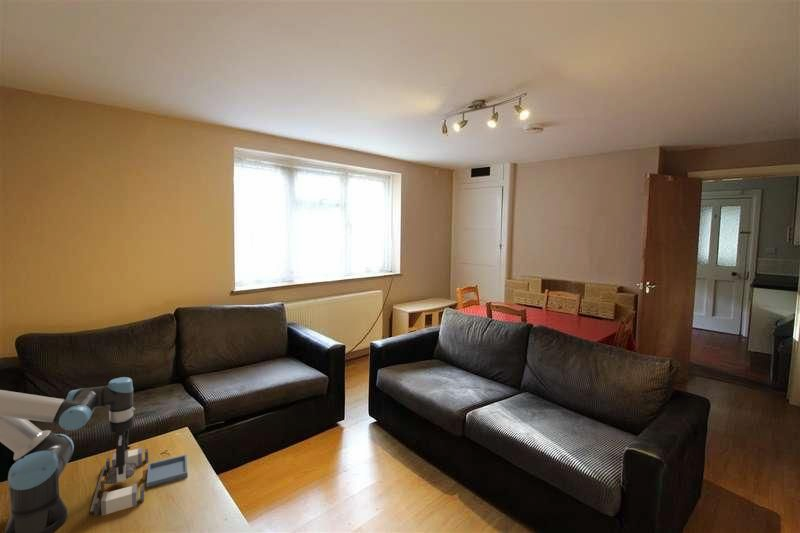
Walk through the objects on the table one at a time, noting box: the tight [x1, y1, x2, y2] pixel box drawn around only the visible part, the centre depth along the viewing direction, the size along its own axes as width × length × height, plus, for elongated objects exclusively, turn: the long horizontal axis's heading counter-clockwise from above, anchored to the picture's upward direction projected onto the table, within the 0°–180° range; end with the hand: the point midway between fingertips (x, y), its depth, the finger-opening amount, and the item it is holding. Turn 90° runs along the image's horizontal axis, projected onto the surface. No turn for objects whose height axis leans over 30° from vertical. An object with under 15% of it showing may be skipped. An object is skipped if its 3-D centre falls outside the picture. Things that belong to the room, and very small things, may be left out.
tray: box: [146, 454, 189, 489], centre depth 155 cm, size 14×14×2 cm
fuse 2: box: [100, 483, 139, 517], centre depth 136 cm, size 10×5×5 cm, turn 121°
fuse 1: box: [111, 446, 144, 468], centre depth 159 cm, size 10×5×5 cm, turn 121°
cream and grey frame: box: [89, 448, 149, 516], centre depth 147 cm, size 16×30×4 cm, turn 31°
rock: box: [104, 462, 138, 485], centre depth 146 cm, size 9×11×4 cm
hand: (122, 473), depth 147 cm, fingers closed on rock, 9 cm apart
